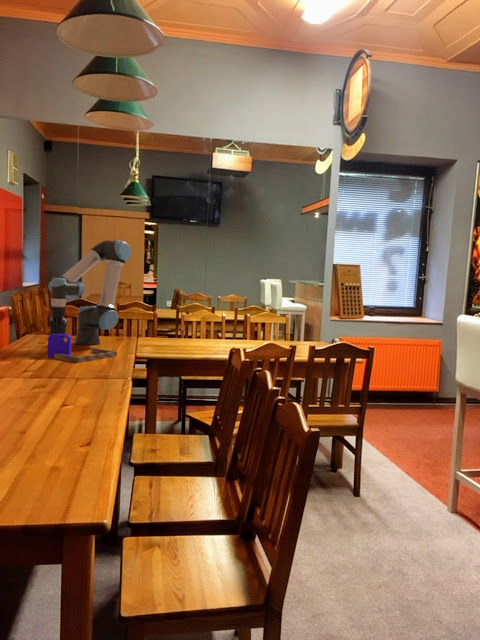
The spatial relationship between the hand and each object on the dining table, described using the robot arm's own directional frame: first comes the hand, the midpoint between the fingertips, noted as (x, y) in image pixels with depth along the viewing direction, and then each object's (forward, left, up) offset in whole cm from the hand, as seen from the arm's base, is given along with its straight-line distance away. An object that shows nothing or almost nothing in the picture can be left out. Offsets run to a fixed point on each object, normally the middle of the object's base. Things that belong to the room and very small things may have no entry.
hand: (57, 349), depth 282 cm
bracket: (+1, +6, -2) cm, 6 cm away
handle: (-1, +20, -2) cm, 20 cm away
